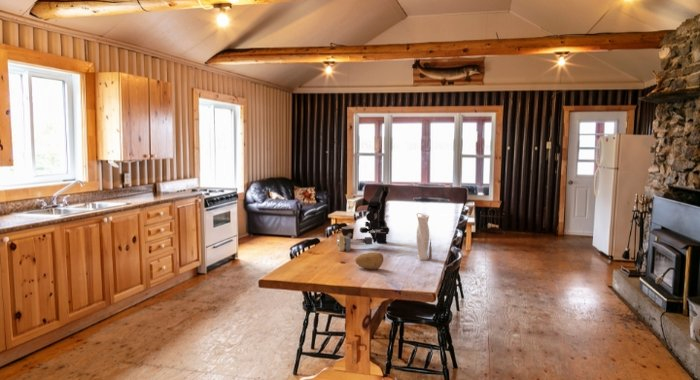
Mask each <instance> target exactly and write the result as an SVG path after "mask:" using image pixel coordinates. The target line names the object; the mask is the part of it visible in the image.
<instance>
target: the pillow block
mask: <svg viewBox="0 0 700 380" xmlns="http://www.w3.org/2000/svg"><path fill="white" fill-rule="evenodd" d="M344 240H345V244H344V251H346V252H350V251H351V250H352V249H351V248H352V247H351V245H352V244H351V238H350V237H348V236H344Z"/></svg>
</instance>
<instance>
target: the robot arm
mask: <svg viewBox="0 0 700 380" xmlns="http://www.w3.org/2000/svg"><path fill="white" fill-rule="evenodd" d="M390 193H391V188H390V186H386V185H381V184H380V185H379V184H378V185H377V186H376V190H375V192H374V196H373V197H372V198H370V200H369V201H368V205H367V209H366V211H367V214H366V215H365V218H366V221H365V222H364V224H365V227H364V226H363V227H360V228H359V232H360V233H361V234H367V233H368V234H370V237H371V238H372V243H374V244H375V243H377V244H387V243H388V242H387V235H389V232H390V228H389V227H388V224H387V222H386V209H387V199H388V198H389V197H390Z"/></svg>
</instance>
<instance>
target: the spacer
mask: <svg viewBox="0 0 700 380" xmlns="http://www.w3.org/2000/svg"><path fill="white" fill-rule="evenodd" d="M336 239H337V240H339V244H338V243H337V242H336V246H337V247H336V249H337V250H338V252H344V251H345V249H344V236H343V235H342V233H338V234H337V233H336ZM337 240H336V241H337Z"/></svg>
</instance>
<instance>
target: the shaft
mask: <svg viewBox="0 0 700 380" xmlns="http://www.w3.org/2000/svg"><path fill="white" fill-rule="evenodd" d="M337 243H338V244H339V240H336V244H337ZM344 244H345V240H344ZM352 244H353V245H354V244H355V245H356V244H365V245H373V239H372V236H366V237H364V238H353V239H351V245H352Z"/></svg>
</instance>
